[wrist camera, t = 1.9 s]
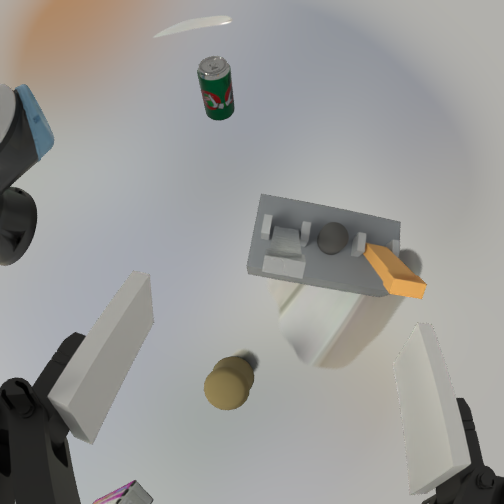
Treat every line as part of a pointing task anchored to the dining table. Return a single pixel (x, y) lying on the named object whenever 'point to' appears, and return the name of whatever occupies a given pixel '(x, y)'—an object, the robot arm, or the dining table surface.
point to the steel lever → (284, 254)
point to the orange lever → (394, 272)
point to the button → (332, 238)
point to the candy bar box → (127, 495)
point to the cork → (229, 383)
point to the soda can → (216, 87)
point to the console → (318, 263)
